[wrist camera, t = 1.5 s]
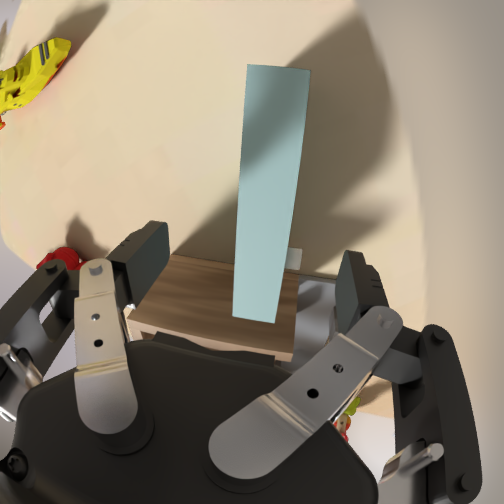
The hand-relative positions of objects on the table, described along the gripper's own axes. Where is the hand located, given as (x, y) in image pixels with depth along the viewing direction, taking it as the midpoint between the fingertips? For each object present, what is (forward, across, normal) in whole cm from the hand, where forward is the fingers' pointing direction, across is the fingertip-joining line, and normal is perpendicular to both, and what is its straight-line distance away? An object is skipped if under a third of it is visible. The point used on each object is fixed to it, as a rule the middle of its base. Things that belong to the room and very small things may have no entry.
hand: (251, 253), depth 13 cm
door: (+16, 0, 0) cm, 16 cm away
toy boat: (+16, +31, -11) cm, 37 cm away
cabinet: (+16, +1, +22) cm, 27 cm away
